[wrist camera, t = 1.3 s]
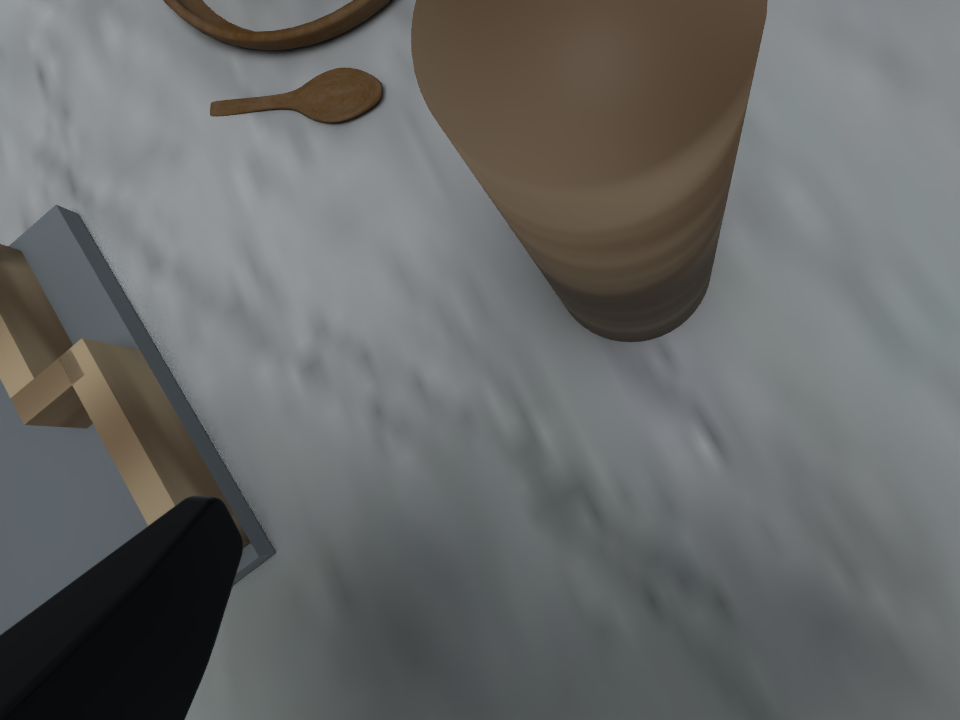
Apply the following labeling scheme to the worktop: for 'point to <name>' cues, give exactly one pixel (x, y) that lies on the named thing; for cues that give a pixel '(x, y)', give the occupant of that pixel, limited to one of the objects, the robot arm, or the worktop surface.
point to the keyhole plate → (88, 422)
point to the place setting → (321, 96)
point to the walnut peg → (599, 138)
